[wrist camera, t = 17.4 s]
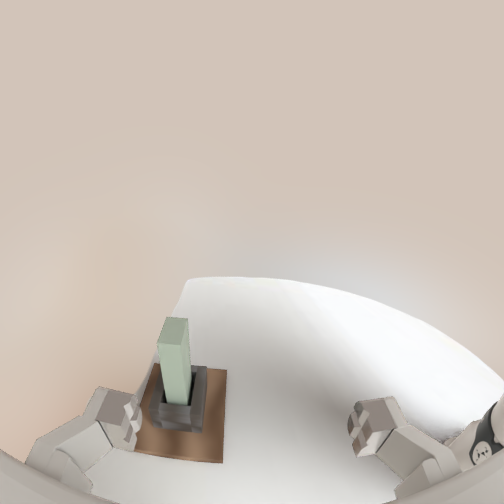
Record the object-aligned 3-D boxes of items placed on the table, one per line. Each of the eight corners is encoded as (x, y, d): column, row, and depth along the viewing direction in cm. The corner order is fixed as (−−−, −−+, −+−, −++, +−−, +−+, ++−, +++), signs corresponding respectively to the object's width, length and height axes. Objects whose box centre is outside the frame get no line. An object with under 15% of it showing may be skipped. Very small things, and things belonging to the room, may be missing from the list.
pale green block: (193, 394, 43) (187, 318, 38) (189, 420, 38) (180, 345, 32) (175, 392, 43) (166, 316, 38) (170, 418, 38) (156, 342, 32)
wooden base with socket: (226, 374, 51) (227, 350, 49) (222, 463, 32) (222, 443, 30) (155, 367, 50) (151, 343, 48) (129, 450, 31) (118, 428, 29)
